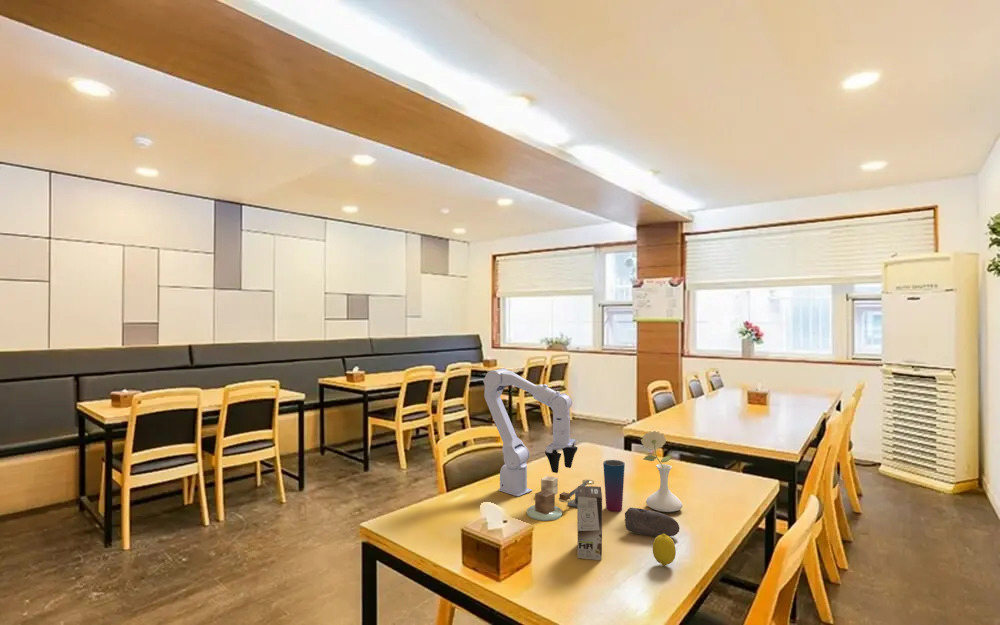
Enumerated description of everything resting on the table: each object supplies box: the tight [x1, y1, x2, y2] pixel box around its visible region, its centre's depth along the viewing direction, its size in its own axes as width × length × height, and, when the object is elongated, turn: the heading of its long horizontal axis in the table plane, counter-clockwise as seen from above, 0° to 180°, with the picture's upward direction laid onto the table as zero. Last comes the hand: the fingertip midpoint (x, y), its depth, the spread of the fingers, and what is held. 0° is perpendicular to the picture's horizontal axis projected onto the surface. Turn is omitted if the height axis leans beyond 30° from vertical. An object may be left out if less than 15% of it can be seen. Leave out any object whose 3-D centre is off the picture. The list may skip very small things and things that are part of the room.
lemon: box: [652, 534, 677, 567], centre depth 130 cm, size 6×6×8 cm
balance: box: [558, 479, 595, 509], centre depth 172 cm, size 4×18×6 cm, turn 137°
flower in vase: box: [640, 430, 684, 513], centre depth 168 cm, size 13×11×25 cm
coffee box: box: [576, 485, 603, 561], centre depth 138 cm, size 9×6×16 cm
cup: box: [602, 459, 626, 513], centre depth 168 cm, size 7×7×15 cm
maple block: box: [540, 475, 559, 496], centre depth 182 cm, size 4×4×6 cm
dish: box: [526, 504, 563, 522], centre depth 164 cm, size 11×11×1 cm
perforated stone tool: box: [624, 507, 681, 538], centre depth 148 cm, size 15×5×7 cm, turn 70°
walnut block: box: [534, 490, 556, 515], centre depth 164 cm, size 4×4×6 cm
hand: (561, 469), depth 177 cm, fingers open, 7 cm apart
